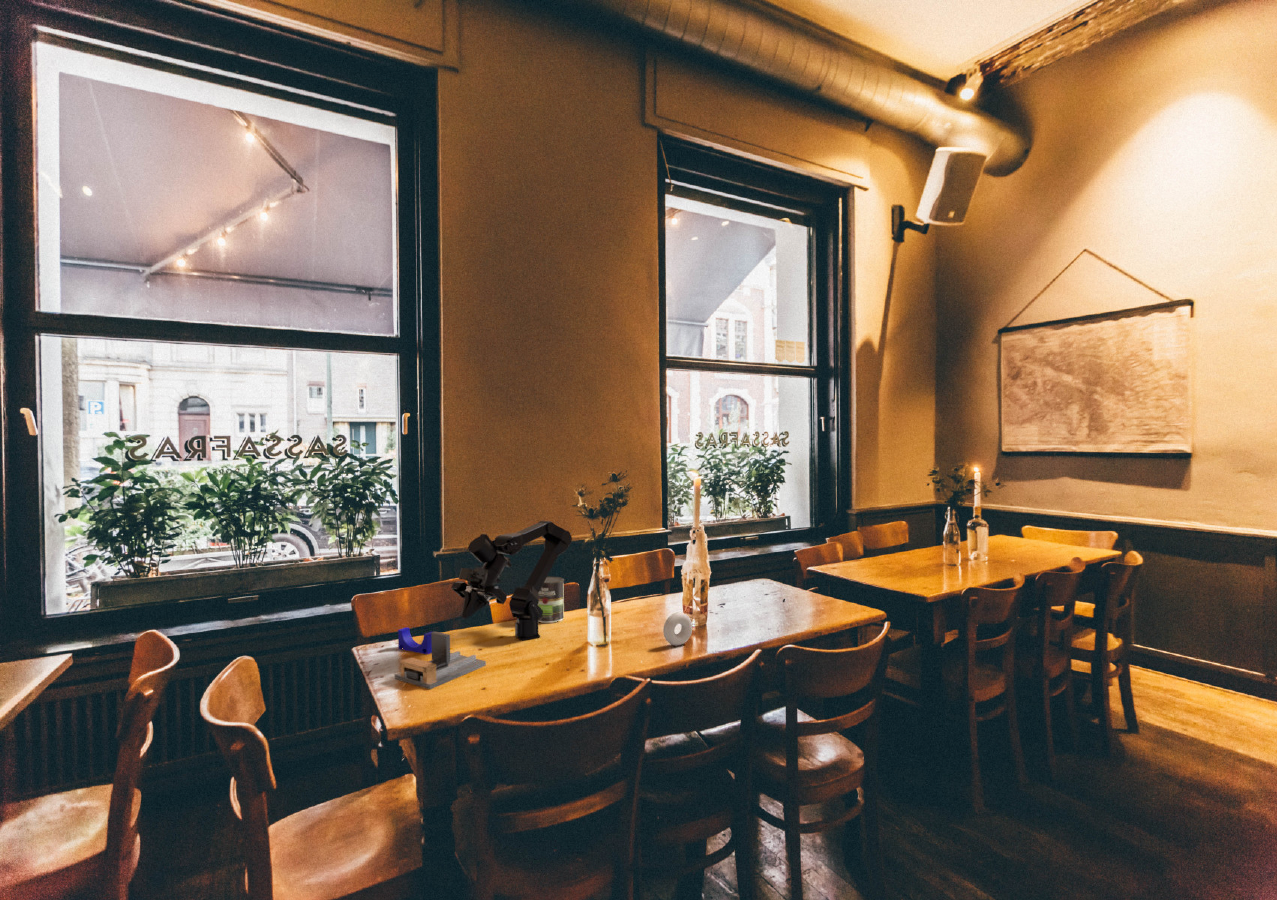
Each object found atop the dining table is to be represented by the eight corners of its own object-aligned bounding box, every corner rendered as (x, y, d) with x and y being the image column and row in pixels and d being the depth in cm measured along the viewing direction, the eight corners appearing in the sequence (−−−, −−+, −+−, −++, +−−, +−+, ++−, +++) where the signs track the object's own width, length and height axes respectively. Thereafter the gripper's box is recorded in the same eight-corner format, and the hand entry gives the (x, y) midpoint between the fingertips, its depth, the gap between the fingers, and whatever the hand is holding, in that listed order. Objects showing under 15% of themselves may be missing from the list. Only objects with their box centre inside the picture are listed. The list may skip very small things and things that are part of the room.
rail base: (451, 656, 174) (451, 639, 174) (485, 665, 167) (485, 647, 167) (394, 678, 158) (394, 660, 158) (430, 689, 151) (429, 669, 151)
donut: (667, 649, 178) (666, 616, 177) (661, 646, 180) (660, 613, 180) (694, 643, 183) (694, 611, 182) (688, 640, 186) (687, 608, 185)
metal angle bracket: (435, 664, 164) (434, 631, 164) (450, 667, 161) (449, 634, 161) (404, 676, 156) (403, 641, 156) (419, 680, 153) (418, 645, 153)
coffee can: (559, 624, 205) (558, 583, 205) (530, 623, 207) (530, 582, 207) (568, 615, 216) (567, 576, 216) (540, 614, 217) (540, 576, 217)
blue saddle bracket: (439, 650, 181) (438, 630, 181) (427, 655, 177) (427, 634, 177) (409, 645, 186) (409, 626, 186) (398, 649, 182) (398, 630, 182)
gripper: (453, 554, 179) (424, 600, 170) (496, 558, 169) (467, 606, 160) (476, 575, 186) (449, 620, 177) (518, 579, 175) (492, 627, 166)
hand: (463, 618), depth 170 cm, fingers closed
